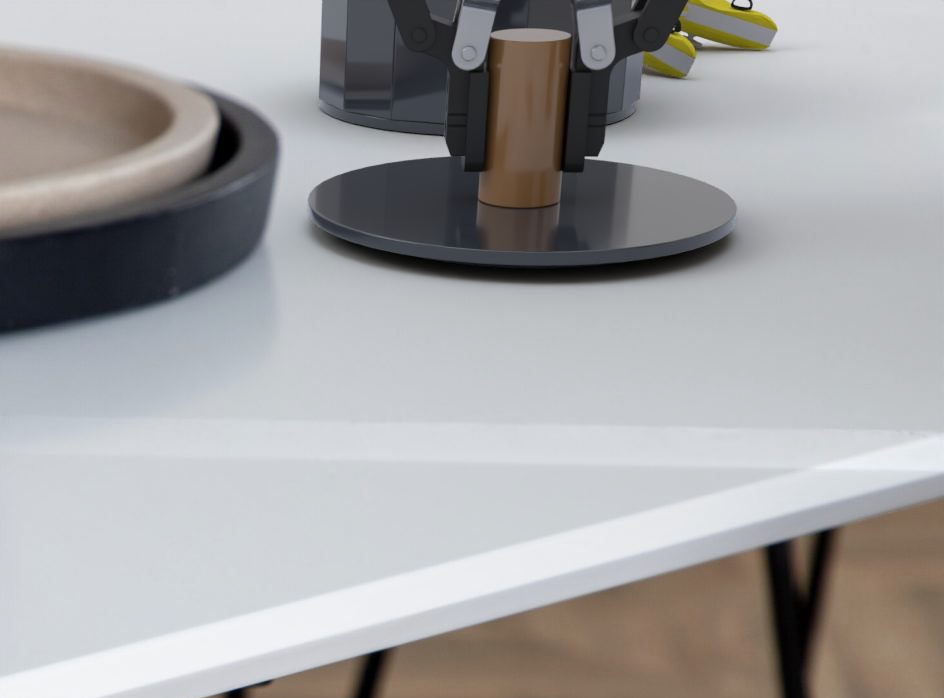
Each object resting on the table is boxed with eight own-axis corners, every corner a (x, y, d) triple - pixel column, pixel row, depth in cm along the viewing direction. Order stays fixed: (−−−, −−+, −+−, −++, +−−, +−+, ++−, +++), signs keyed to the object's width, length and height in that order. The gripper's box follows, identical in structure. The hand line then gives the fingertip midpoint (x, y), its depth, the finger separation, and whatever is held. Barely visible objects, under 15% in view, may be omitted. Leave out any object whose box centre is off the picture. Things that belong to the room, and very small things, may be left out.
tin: (615, 75, 113) (631, -104, 109) (656, 136, 99) (675, -66, 96) (318, 76, 114) (323, -100, 111) (318, 136, 101) (325, -62, 98)
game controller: (654, 18, 122) (683, -43, 119) (755, 74, 119) (787, 13, 117) (566, 45, 115) (595, -19, 113) (671, 105, 112) (703, 41, 110)
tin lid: (699, 182, 91) (717, 0, 88) (770, 285, 77) (794, 73, 74) (307, 181, 93) (312, 3, 90) (306, 281, 79) (312, 74, 76)
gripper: (349, -331, 75) (331, 191, 82) (792, -342, 73) (734, 192, 80) (346, -335, 82) (329, 147, 89) (751, -346, 80) (701, 147, 87)
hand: (522, 166), depth 84 cm, fingers closed on tin lid, 3 cm apart
